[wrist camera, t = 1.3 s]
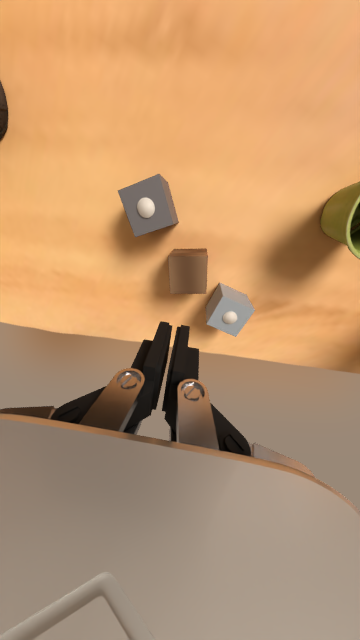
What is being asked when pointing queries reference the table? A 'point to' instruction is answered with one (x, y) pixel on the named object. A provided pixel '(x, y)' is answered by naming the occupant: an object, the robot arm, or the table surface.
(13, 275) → the table surface
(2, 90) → the pillar candle
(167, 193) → the charcoal block
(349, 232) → the plant pot
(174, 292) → the walnut block
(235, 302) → the slate block
